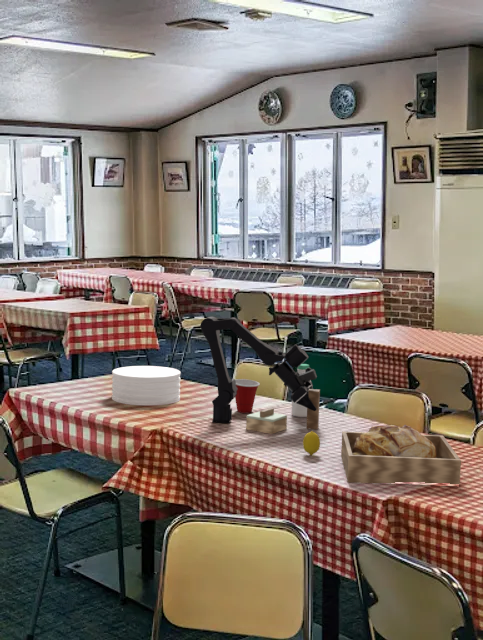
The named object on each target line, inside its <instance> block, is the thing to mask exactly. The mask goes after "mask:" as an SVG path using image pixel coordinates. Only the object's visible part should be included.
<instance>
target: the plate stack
mask: <svg viewBox="0 0 483 640" xmlns="http://www.w3.org/2000/svg"><path fill="white" fill-rule="evenodd" d="M111 374H112V377H111V381H112V382H111V387H112V388H111V399H112V401H113V402H117V403H118V404H123V405H125V404H126V405H132V406H163V405H171V404H174V403H175V404H176V403H177V402H179V401H181V395H180V394H181V389H180V388H181V374H182V373H181V370H179V369H177V368H173V367H166V366H158V365H157V366H156V365H131V366H121V367H118V368H114V369H113V370H112V371H111Z"/></svg>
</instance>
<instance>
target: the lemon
mask: <svg viewBox="0 0 483 640" xmlns="http://www.w3.org/2000/svg"><path fill="white" fill-rule="evenodd" d="M320 446H321V440H320V436H319V435H318V434H317V433H316V432H315V431H314V430H313V431H312V430H311V431H309V432H307V433H306V434H305V435H304V437H303V441H302V447H303V449H304V451H305V453H307V454H309V456H313V455H314V454H316V453H317V452H318V451H319V449H320V448H321V447H320Z"/></svg>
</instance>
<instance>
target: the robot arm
mask: <svg viewBox="0 0 483 640" xmlns="http://www.w3.org/2000/svg"><path fill="white" fill-rule="evenodd" d="M200 330H201V331H202V335H203V337H204V338H205V339H206V341H207V343H208V346H209V348H210V353H211V354H210V355H211V358H212V362H213V365H214V369H215V374H216V377H217V394H218V395H217V396H216V397H214V399H213V400H212V401H211V403H212V406H213V407H212V420H211V421H212V422H211V423H219V424H220V423H221V424H230V423H231V421H232V419H233V408H232V407H231V402H232V401H233V400H234V399H235V396H236V394H237V390H238V388H237V387H236V381H235V380H236V379H232V378H231V377H230V375H229V372H228V367H227V363H226V360H225V354H224V351H223V348H222V343H221V341H220V339H221V331H222V330H224V331H225V330H230V331H232V332H233V333H234V334H235V335H236V336H237V337H239V338H240V339H241V340H242V341H243V342H244V343H246V344H247V345H248V346H249V347H250V348H251V349H253V350H254V352H255V354H256V355H257V356H258V358H259V359H260V360H261V361H262V363H263V364H264V365H265V366H269V367H268V375H269V376H272V374H275V375H276V376H277V377H278V378H279V379H280V380H281V381H282V383H283V386H285V387H287V388H288V390H290V391H291V392H290V393H291V395H290V399H291V402H292V401H293V402H294V403H295V402H296V401H297V400H298V401H297V402H296V404H299V405H302V406H304V407H306V408H308V409H311V410H313V411H316V410H317V409H316V407H315V405H314V404H313V402H312V401H311V399H310V398H309V391H308V390H309V389H314V388H313V386H314V385H313V382H312V381H314V380H316V379H317V377H318V376H317V373H316V370H315V369H314V368H311V367H310V366H309V368H307V369H306V370H305V373H303V374H299V373H298V371H295V370H294V369H293V368H296V369H297V368H298V367H299V366H300V365H301V364H304V363H305V362H306V361H307V360H308V359H309V355H308V354H307V352H306V351H305V350H304V349H302V348H301V347H300V346H298V344H297V343H296V344H294V345H293V346H292V347H291V348H290V349H289V350H288V351H287V352H284V351H278V350H277V348H275V347H273V346H272V345H271V344H268V343H267V342H266V343H265V342H264V341H262V340H261V339H260V338H259V337H257V336H256V335H255V334H254V333H253V332H251V330H249V329H248V328H247V327H245V325H244V324H242V322H240V321H239V320H238V319H237V318H236V317H227V318H225V317H224V318H222V317H221V318H217V317H215V316H208V317H205V318H204V319H202V320H201V322H200ZM284 359H285V360H284ZM283 360H284V361H283ZM281 361H282V362H281ZM275 363H276V364H275ZM272 365H274V366H272ZM310 380H311V381H310ZM311 384H312V386H310V385H311ZM309 386H310V387H309Z"/></svg>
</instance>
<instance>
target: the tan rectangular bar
mask: <svg viewBox="0 0 483 640" xmlns="http://www.w3.org/2000/svg"><path fill="white" fill-rule="evenodd" d="M308 391H309V398H310V399H311V401H312V402H313V404H314V405H315V407H316V409H317V410H316V411H313V410H311V409H308V408H307V417H306V428H305V429H306V430H318V428H319V424H320V423H319V422H320V400H321V399H320V398H321V389H317V388H316V389H314V388H312V389H309V390H308Z"/></svg>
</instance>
